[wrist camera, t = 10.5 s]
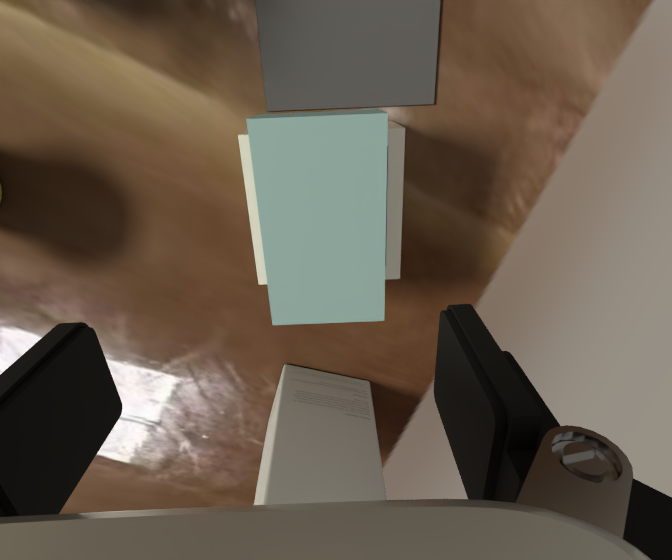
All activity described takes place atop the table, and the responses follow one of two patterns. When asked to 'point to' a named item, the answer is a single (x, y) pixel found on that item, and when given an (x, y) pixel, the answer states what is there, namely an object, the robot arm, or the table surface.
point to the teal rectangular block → (322, 213)
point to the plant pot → (0, 193)
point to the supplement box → (320, 441)
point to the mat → (348, 52)
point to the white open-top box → (392, 201)
